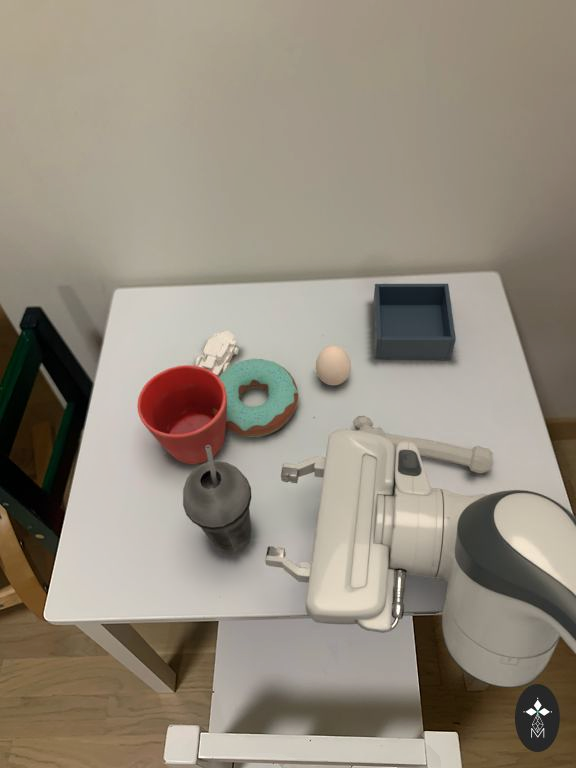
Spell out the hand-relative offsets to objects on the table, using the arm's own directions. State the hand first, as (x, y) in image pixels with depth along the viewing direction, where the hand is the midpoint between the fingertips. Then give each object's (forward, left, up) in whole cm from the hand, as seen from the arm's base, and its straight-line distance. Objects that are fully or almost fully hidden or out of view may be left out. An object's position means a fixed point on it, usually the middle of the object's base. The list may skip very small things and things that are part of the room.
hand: (274, 512), depth 63 cm
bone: (-12, -17, -10) cm, 23 cm away
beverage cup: (+6, +1, -10) cm, 12 cm away
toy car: (+19, -23, -10) cm, 32 cm away
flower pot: (+16, -10, -10) cm, 22 cm away
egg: (+2, -25, -10) cm, 27 cm away
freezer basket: (-6, -37, -10) cm, 39 cm away
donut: (+11, -17, -10) cm, 23 cm away
